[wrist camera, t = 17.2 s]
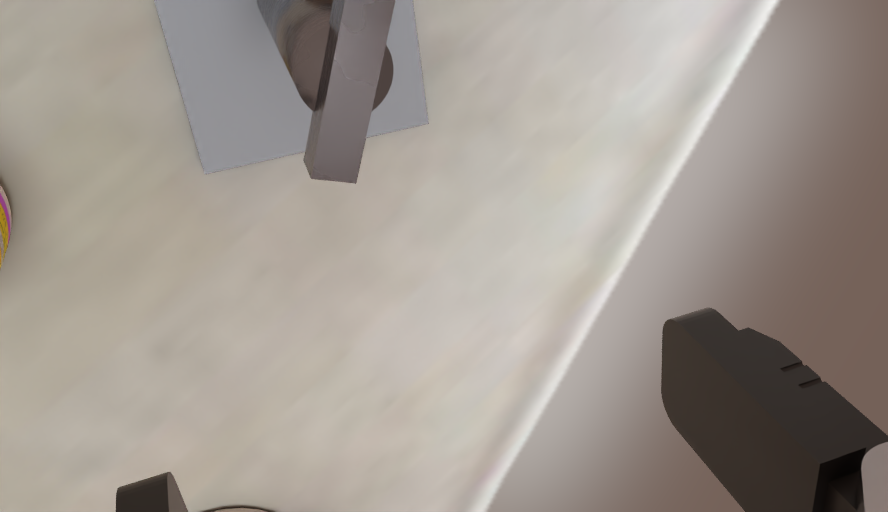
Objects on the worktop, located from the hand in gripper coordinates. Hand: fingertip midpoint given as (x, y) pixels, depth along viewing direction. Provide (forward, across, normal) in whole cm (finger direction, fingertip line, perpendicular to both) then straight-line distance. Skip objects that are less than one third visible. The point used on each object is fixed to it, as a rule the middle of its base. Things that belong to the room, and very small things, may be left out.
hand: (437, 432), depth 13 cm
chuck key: (+25, -2, -1) cm, 25 cm away
